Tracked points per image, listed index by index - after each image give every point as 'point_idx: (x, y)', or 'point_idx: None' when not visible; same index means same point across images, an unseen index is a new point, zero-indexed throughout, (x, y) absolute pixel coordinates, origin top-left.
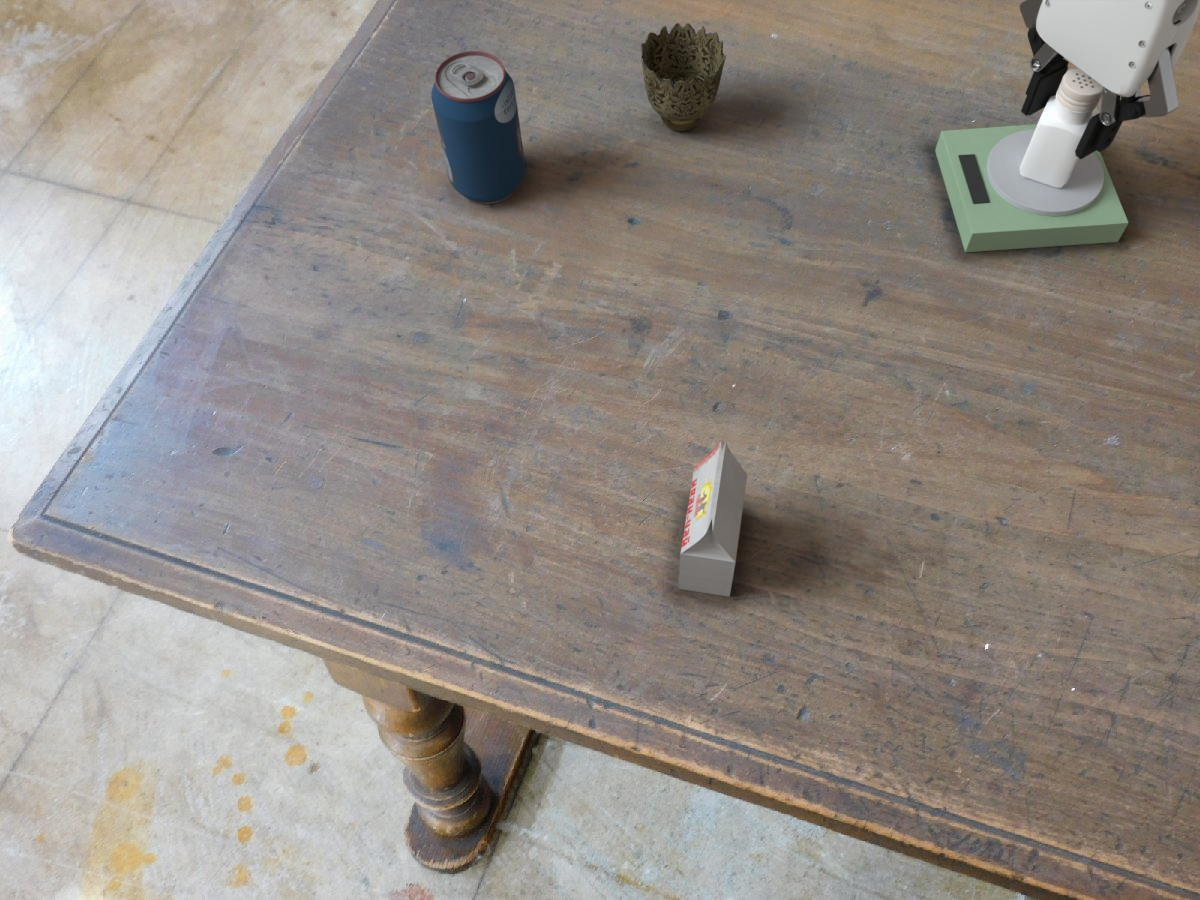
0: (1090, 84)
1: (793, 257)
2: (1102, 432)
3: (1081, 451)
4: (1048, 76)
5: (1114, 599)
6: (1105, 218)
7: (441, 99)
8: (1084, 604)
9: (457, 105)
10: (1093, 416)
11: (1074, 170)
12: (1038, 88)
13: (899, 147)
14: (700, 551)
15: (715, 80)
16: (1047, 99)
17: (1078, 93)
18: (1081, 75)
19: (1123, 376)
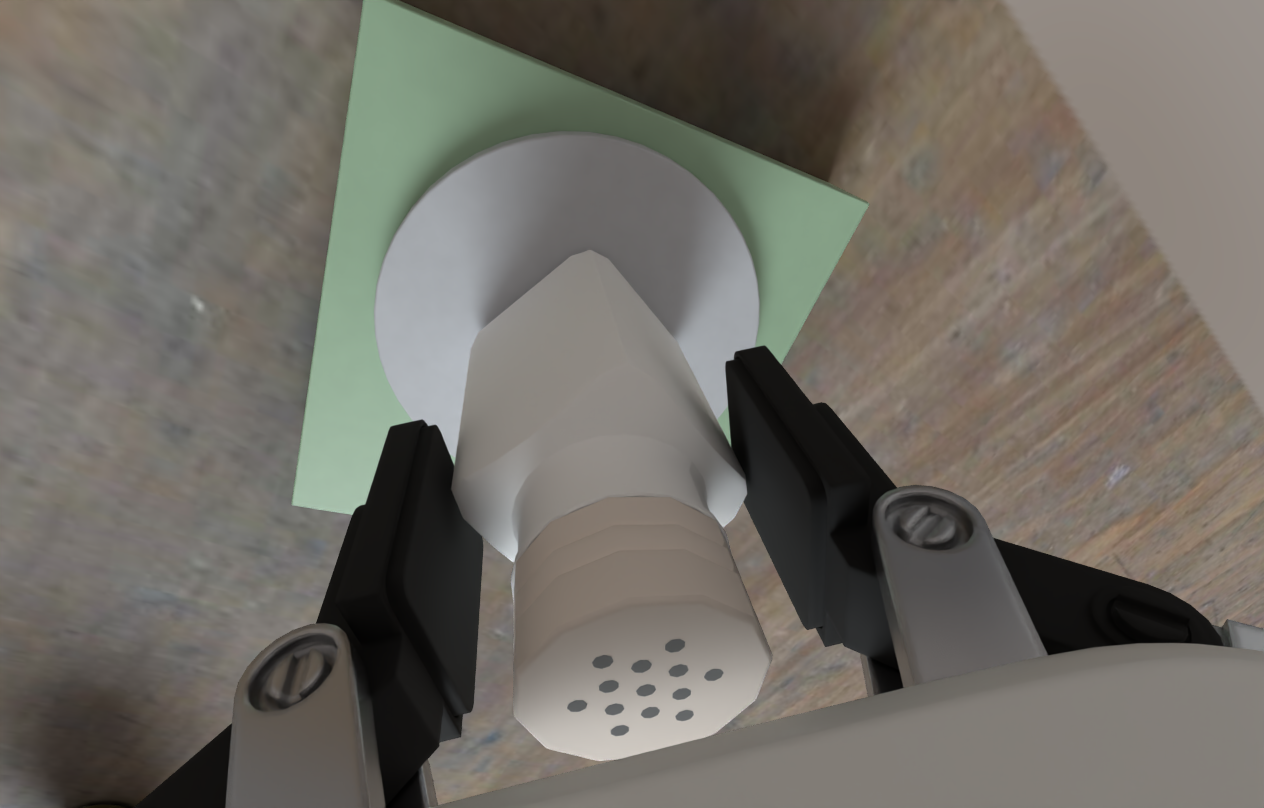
0: (690, 676)
1: (529, 734)
2: (1097, 480)
3: (1088, 521)
4: (456, 696)
5: (1227, 573)
6: (814, 259)
7: None
8: (1198, 601)
9: None
10: (1069, 479)
11: (622, 258)
12: (472, 668)
13: (279, 520)
14: None
15: None
16: (450, 497)
17: (711, 733)
18: (599, 692)
19: (1067, 395)
